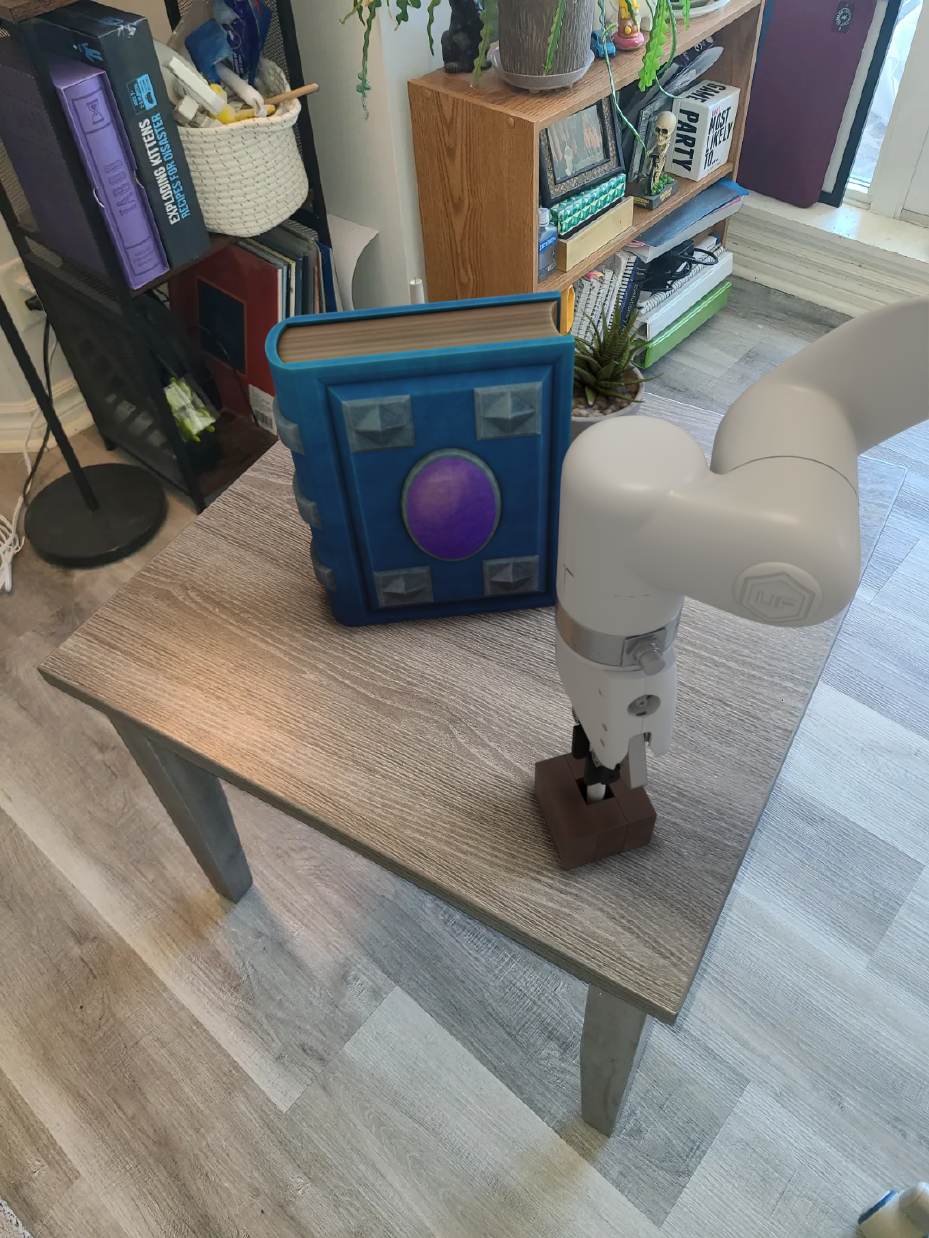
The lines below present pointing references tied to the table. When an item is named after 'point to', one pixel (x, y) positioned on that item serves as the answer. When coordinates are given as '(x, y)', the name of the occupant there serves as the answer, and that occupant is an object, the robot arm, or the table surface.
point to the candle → (416, 292)
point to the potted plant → (606, 375)
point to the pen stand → (590, 813)
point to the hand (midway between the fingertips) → (597, 763)
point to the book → (428, 452)
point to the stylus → (595, 791)
